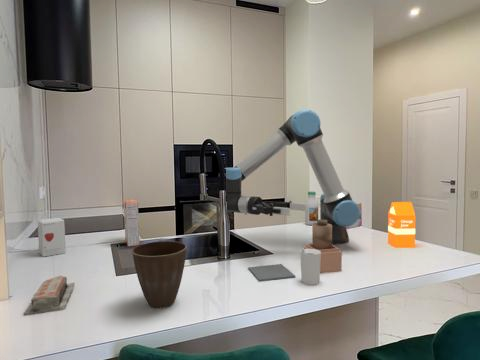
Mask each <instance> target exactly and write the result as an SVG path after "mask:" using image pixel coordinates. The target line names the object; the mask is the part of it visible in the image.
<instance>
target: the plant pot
mask: <svg viewBox="0 0 480 360" xmlns="http://www.w3.org/2000/svg"><path fill="white" fill-rule="evenodd" d="M187 249H188V247H187V245H186V244H185V243H183V242H181V241H174V240H173V241H172V240H162V241H161V240H160V241H152V242H146V243H143V244H140V245H138V246H134V247H133V248H132V250H131V252H132V253H131V254H132V259H133V263H134V268H135V272H136V276H137V279H138V283H139V286H140V289H141V292H142V293H143V297H144V299H145V301H146V303H147V305H148V306H149V307H150V308H152V307H153V309H164V307H165V308H168V307H171V306H172V305H174V304H175V301H176V299H177V296H178V292H179V289H180V286H181V284H182V283H181V282H182V279H183V274H184V270H185V269H184V268H185V263H186V255H187ZM170 305H171V306H170Z"/></svg>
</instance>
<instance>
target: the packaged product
mask: <svg viewBox="0 0 480 360" xmlns="http://www.w3.org/2000/svg"><path fill="white" fill-rule="evenodd" d="M67 280H68V279H67V276H63V275H58V276H55V277H52V278H50V279H47V280H45V281H43V282H42V283H41V284H40V286H39V288H38V289H37V291H36V292H35V294H34V295H33V297H32V298H31V300H30V303H29V305H28V307H26V309H25V310H24V312H23V315H24V316H31V315H32V316H33V315H39V314H43V313H51V312H56V311H57V312H59V311H62V310H63V311H64V310H66V308H67V306H68V303H69V302H70V299H71V297H72V295H73V293H74V289H75V282H70V283H67V282H68V281H67ZM71 294H72V295H71Z"/></svg>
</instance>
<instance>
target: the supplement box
mask: <svg viewBox="0 0 480 360" xmlns="http://www.w3.org/2000/svg"><path fill="white" fill-rule="evenodd" d="M37 231H38V232H37V233H38V235H37V236H38V239H37V240H38V253H39V255H40V256H41V257H43V256H47V257H51V256H50V255H52V256H57V255H56V254H58V255H63V253H64V254H66V252H67V251H66V250H67V248H66V227H65V220H64V218H61V217H55V218H43V219H37Z"/></svg>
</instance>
